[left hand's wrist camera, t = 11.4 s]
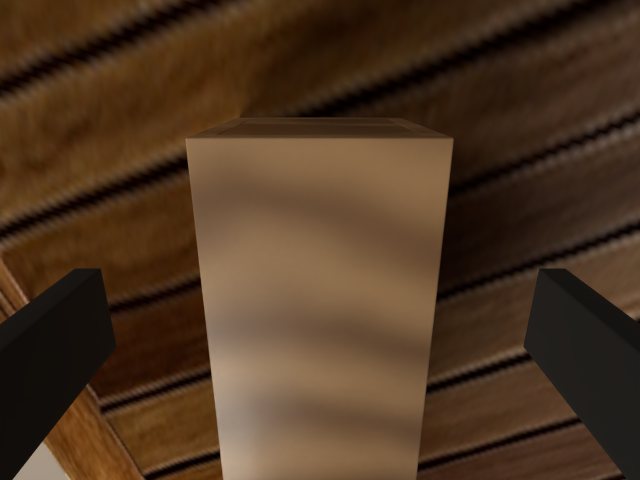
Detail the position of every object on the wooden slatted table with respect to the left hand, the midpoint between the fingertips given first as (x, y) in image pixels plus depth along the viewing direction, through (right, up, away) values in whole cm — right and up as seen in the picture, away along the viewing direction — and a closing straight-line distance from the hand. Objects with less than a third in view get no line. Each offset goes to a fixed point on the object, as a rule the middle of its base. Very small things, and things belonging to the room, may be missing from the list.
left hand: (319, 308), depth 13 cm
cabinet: (0, +1, +18) cm, 18 cm away
